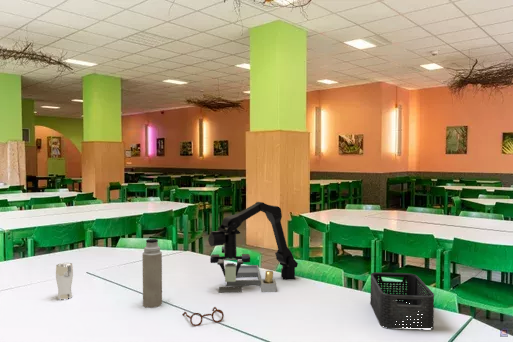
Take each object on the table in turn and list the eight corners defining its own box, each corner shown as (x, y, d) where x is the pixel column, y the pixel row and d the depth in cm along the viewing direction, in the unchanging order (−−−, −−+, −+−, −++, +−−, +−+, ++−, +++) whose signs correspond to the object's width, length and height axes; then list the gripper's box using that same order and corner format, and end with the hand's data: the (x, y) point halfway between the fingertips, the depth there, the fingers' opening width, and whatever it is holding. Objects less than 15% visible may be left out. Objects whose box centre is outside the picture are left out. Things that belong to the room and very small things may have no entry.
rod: (270, 286, 200) (271, 270, 200) (273, 289, 197) (274, 272, 197) (263, 287, 199) (264, 270, 199) (266, 289, 196) (267, 273, 195)
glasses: (190, 328, 155) (190, 314, 154) (182, 315, 167) (182, 303, 166) (224, 322, 160) (224, 309, 160) (213, 310, 172) (213, 298, 172)
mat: (241, 286, 202) (241, 286, 202) (242, 292, 194) (242, 291, 194) (219, 287, 201) (219, 286, 201) (218, 292, 193) (218, 292, 193)
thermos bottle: (149, 300, 183) (149, 237, 182) (165, 302, 181) (165, 238, 180) (139, 306, 176) (138, 240, 175) (155, 308, 173) (154, 241, 172)
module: (235, 278, 200) (235, 262, 200) (235, 281, 195) (235, 265, 195) (225, 278, 200) (225, 262, 200) (225, 281, 195) (225, 265, 195)
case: (258, 268, 235) (258, 264, 235) (261, 285, 204) (261, 280, 204) (227, 269, 234) (227, 264, 234) (226, 285, 204) (226, 280, 203)
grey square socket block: (274, 287, 202) (274, 279, 201) (276, 291, 195) (276, 283, 194) (260, 287, 201) (260, 279, 201) (261, 292, 194) (261, 284, 194)
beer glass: (76, 296, 188) (76, 263, 187) (63, 301, 182) (63, 267, 181) (65, 294, 191) (65, 262, 190) (52, 299, 185) (52, 265, 184)
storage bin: (436, 331, 151) (436, 295, 150) (381, 329, 153) (382, 293, 152) (414, 304, 179) (415, 273, 179) (368, 302, 181) (369, 272, 181)
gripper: (249, 240, 205) (249, 271, 206) (211, 240, 205) (211, 271, 205) (250, 244, 194) (250, 277, 195) (210, 245, 193) (210, 278, 194)
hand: (230, 276), depth 197 cm, fingers closed on module, 5 cm apart
